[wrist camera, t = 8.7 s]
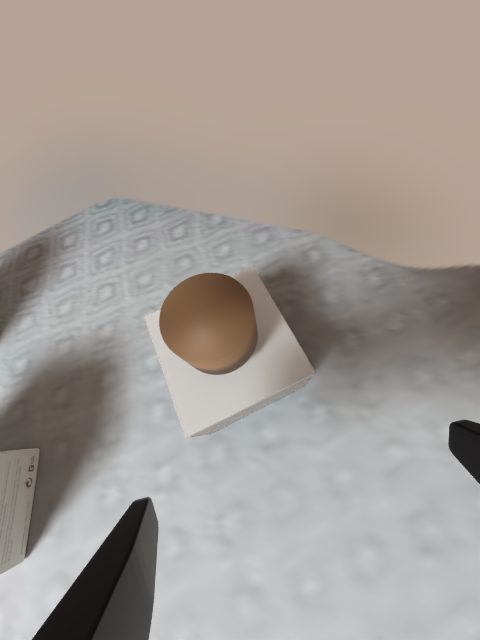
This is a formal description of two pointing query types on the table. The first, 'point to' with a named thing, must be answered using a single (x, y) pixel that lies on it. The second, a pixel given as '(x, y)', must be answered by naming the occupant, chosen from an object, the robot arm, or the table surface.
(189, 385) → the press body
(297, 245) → the table surface
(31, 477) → the supplement box
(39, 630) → the robot arm
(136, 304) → the table surface
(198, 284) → the plunger
